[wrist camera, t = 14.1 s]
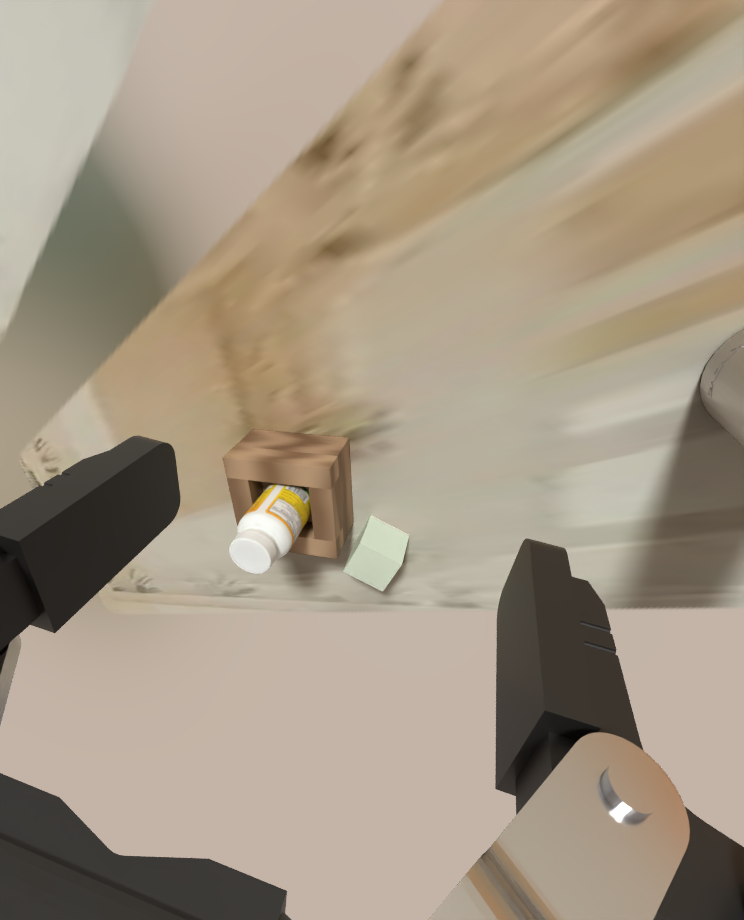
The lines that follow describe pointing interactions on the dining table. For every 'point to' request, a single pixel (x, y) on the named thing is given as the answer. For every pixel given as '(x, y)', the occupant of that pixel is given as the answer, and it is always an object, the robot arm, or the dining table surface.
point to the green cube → (377, 553)
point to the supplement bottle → (270, 527)
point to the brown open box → (297, 482)
